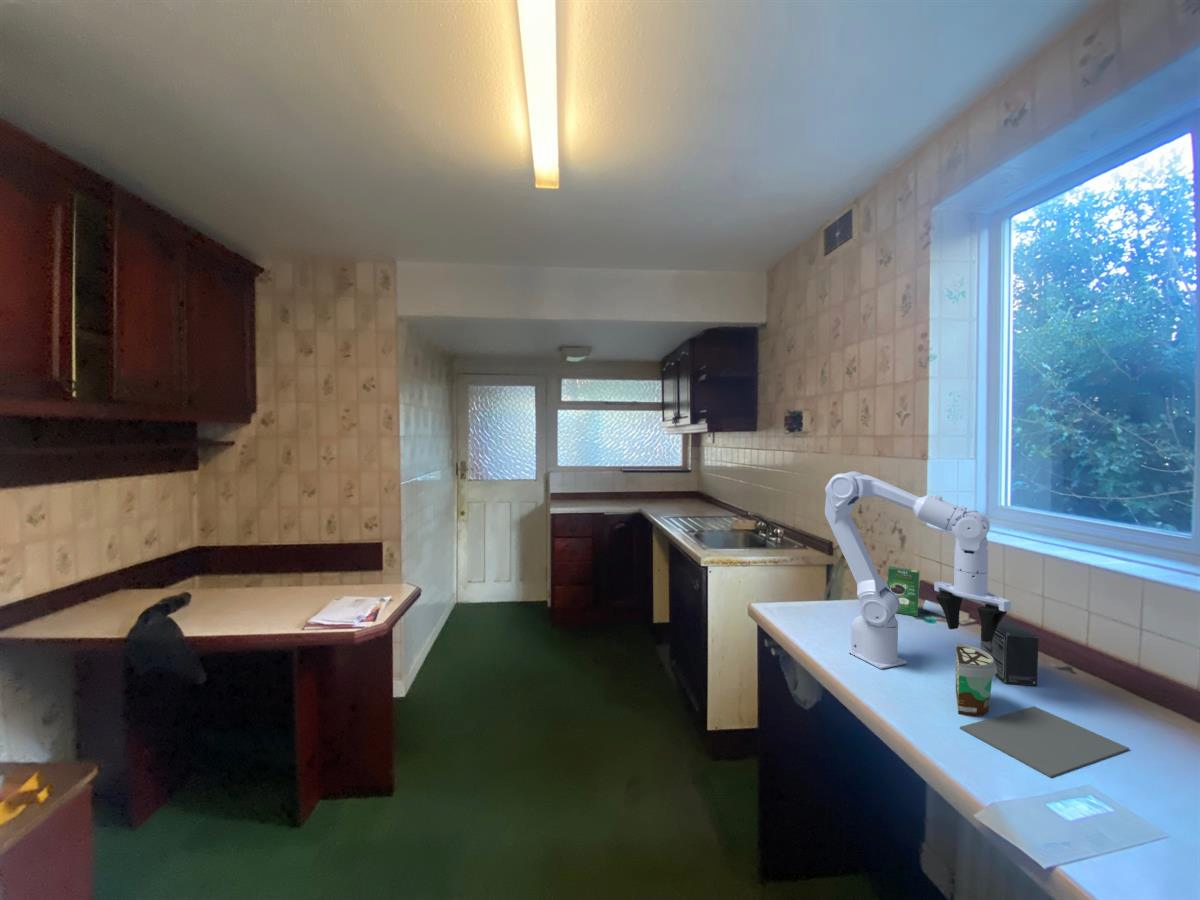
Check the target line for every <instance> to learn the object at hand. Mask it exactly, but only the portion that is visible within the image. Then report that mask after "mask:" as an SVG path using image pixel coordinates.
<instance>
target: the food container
mask: <svg viewBox="0 0 1200 900" xmlns="http://www.w3.org/2000/svg"><path fill="white" fill-rule="evenodd" d="M996 673H997V668H996V664H995V661H994V660H993V657H992V656H991V655H990V654H988V653H987V652H985V651H983V650H981V648H979V647H975V646H972V645H969V644H965V643H961V642H955V698H956V707H957V714H958V715H961V716H966V717H967V716H968V717H981V716H985V715H988V713H989V712H990V711H989V709H990V701H991V692H992V682H993V677H995V674H996Z"/></svg>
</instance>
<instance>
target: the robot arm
mask: <svg viewBox="0 0 1200 900" xmlns="http://www.w3.org/2000/svg"><path fill="white" fill-rule="evenodd" d="M824 491H825V504H824V505H825V506H824V516H825V518H826V520H827V522H828V524H829V527H830V528H831V531H832V533H833V536H834V538H835V540H836V541H837V544H838V546H839V549H840V550H841V552H842V553H841V554H842V555H843V557H844V558H845V561H846V563H847V565H848V567H849V569H850V572H851V573H852V576H853V578H854V581H855V582H856V586H857V587H856V596H857V599H858V600H859V606H860V607H859V612H860V615H857V616H856V617H855V618H854V619H853V620H852V623H851V631H850V632H851V633H850V637H851V638H850V640H851V641H850V642H851V643H850V645H851V646H850V650H848V653H849V654H850V653H851V655H852V656H854V655H855V657H857V658H858V659H860V660H862V661H864V662H865V663H869V664H870V665H872V666H875V667H876V668H878V669H879V670H880V669H881V670H883V669H887V668H893V667H897V666H901V665H902V666H903V665H907V664H908V661H907V660H905V659H903V658H900V657H898V655H899V654H898V653H899V652H898V650H899V649H898V648H899V647H898V646H899V645H898V644H899V639H898V637H899V635H898V634H899V632H898V631H899V622H898V619H897V618H896V614H898V613H897V612H898V610H899V608H900V601H899V598H898V597H897V595H896V594H895V593H893V592H892V591H891V590H890V589H889V587H888V582H886V581H885V580H884V579H883V578H882V577H881V576H880V575H879V573H878V570H877V568H876V567H875V564H874V562H873V559H872V558H871V556H870V553H869V551H868V549H867V547H866V545H865V543H864V541H863V539H862V537H861V535H860V532H859V530H858V528H857V526H856V525H855V522H854V520H853V518H852V516H851V512H852V510H853V507H854V506H855V504H856V502H857V501H859V500H860V498H868V497H876V498H880V499H882V500H884V501H887V502H890V503H893V504H896V505H898V506H901V507H904V508H906V509H907V510H908V509H909V510H911V511H912V512H913V513H914V515H915V516H916V519H918V520H920V521H922V522H925V523H927V524H930V525H932V526H934V527H937V528H939V529H942V530H943V531H946V532H949V533H950V532H951V533H953V535H954V537H955V546H953V547H954V549H953V550H954V555H953V556H954V561H953V562H954V563H953V564H954V565H953V567H954V568H953V583H951V582H945V581H941V580H940V581H938V580H937V581H934V583H933V585H934V586H933V587H934V591H935V592H937V593H939V594H936V598H935V599H936V600H937V602H938V603H939V605H940V607H941V608H942V611H943V614H944V617H945V619H946V623H947V628H948V630H955V629H959V626H960V612H961V605H962V602H963V599H965V600H968V601H970V602H975V603H978V604H982V605H984V606H978V607H977V608H976V609H977V612H978V614H979V615H978V616H979V620H980V629H981V630H980V631H981V632H980V638H981V637H982V641H984V642H989V641H992V640H993V636H994V633H995V630H996V628H997V626H998V624H999V622H1000V621H1001V620H1003V618H1004V617H1005V615H1006V614H1007V612H1010V611H1011V610H1012V601H1011V599H1010V600H1009V599H1006V598H1003V597H1002V596H999V595H995V594H993V593H992V592H989V591H988V588H989V587H988V582H989V581H988V580H989V579H988V577H989V574H988V573H989V550H988V546H989V545H988V544H989V542H988V537H987V535H988V533H989V531H990V528H991V525H990V521H989V519H988V518H987V517H986V516H985V515H984V514H983V513H981V512H980V511H978V510H975V509H974V510H973V509H972V510H971V509H970V510H967V509H968V507H966V506H964V505H961V506H958V505H955V504H953V503H951V502H948V501H946V500H943V496H942V495H939V494H935V495H934V496H933V495H930V494H928V495H927V494H926V495H924V496H922V497H921V496H920V497H919V496H918V495H915V494H914V493H910V492H908V491H906V490H903V489H901V488H900V487H897V486H895V485H893V484H890V483H888V482H885V481H884V480H881V479H879V478H876V477H874V476H871V475H870V474H862V473H861V472H858V471H847V472H846V473H837V474H834V475H833V476H832V477H831V478H830V480H828V483H827V485H826V486H825V488H824Z"/></svg>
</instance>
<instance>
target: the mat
mask: <svg viewBox="0 0 1200 900" xmlns="http://www.w3.org/2000/svg"><path fill="white" fill-rule="evenodd" d="M959 729H960V730H962V731H963V732H965V733H967V734H969V735H971V736H973V737H975V738H976V739H978V740H980V741H981V742H983V743H986V744H988V745H989V746H991V747H993V748H995V749H997V750H998V751H1000V752H1002V753H1004V754H1006V755H1008V756H1009V757H1012V758H1014V759H1015V760H1017V761H1019V762H1020V763H1022V764H1024V765H1026V766H1028V767H1029V768H1031V769H1034V770H1036V771H1037V772H1039V773H1041V774H1043V775H1045V776H1046V777H1048V778H1050V779H1051V778H1053V777H1056V776H1059V775H1063V774H1066V773H1067V772H1068V773H1069V772H1071V771H1073V770H1077V769H1079V768H1082V767H1086V766H1087V765H1090V764H1093V763H1096V762H1099V761H1102V760H1105V759H1108V758H1110V757H1112V756H1113V757H1114V756H1115V755H1118V754H1121V753H1124V752H1127V751H1130V747H1128V746H1127V745H1123V744H1122V743H1118V742H1116V741H1114V740H1111V739H1110V738H1107V737H1105V736H1103V735H1100V734H1098V733H1097V732H1094V731H1091V730H1089V729H1087V728H1085V727H1082V726H1080V725H1079V724H1075V723H1073V722H1071V721H1069V720H1066V719H1065V718H1063V717H1060V716H1058V715H1056V714H1053V713H1052V712H1048V711H1046V710H1043V709H1041V708H1039V707H1037V706H1035V705H1034V706H1030V707H1027V708H1023V709H1019V710H1016V711H1012V712H1009V713H1004V714H1001V715H997V716H993V717H991V718H990V717H989V718H987V719H983V720H980V721H976V722H972V723H969V724H965V725H962V726H959Z"/></svg>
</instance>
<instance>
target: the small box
mask: <svg viewBox="0 0 1200 900" xmlns="http://www.w3.org/2000/svg"><path fill="white" fill-rule="evenodd" d="M1039 639H1040V638H1039V637H1038V636H1037V635H1035V634H1034V633H1032V632H1030V631H1029V630H1027V629H1026V628H1024V627H1022V626H1020V625H1018V624H1017V623H1016V622H1014V621H1012V620H1009V619H1001V621H1000V622H999V624H998V626H997V628H996V630H995V633H994V636H993V640H992V641H989V642H984V641H982V637H981V636H980V649H981V650H983V651H985V652H987V653H988V654H990V655H991V656H992V657H993V660H994V661H995V664H996V668H997V673H996V674H995V675H994V677H995V676H996V678H997V679H998V680H1000V681H1001V682H1002V683H1003V684H1009V685H1021V686H1031V687H1032V686H1033V687H1038V667H1039V666H1038V664H1039V661H1038V660H1039Z"/></svg>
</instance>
